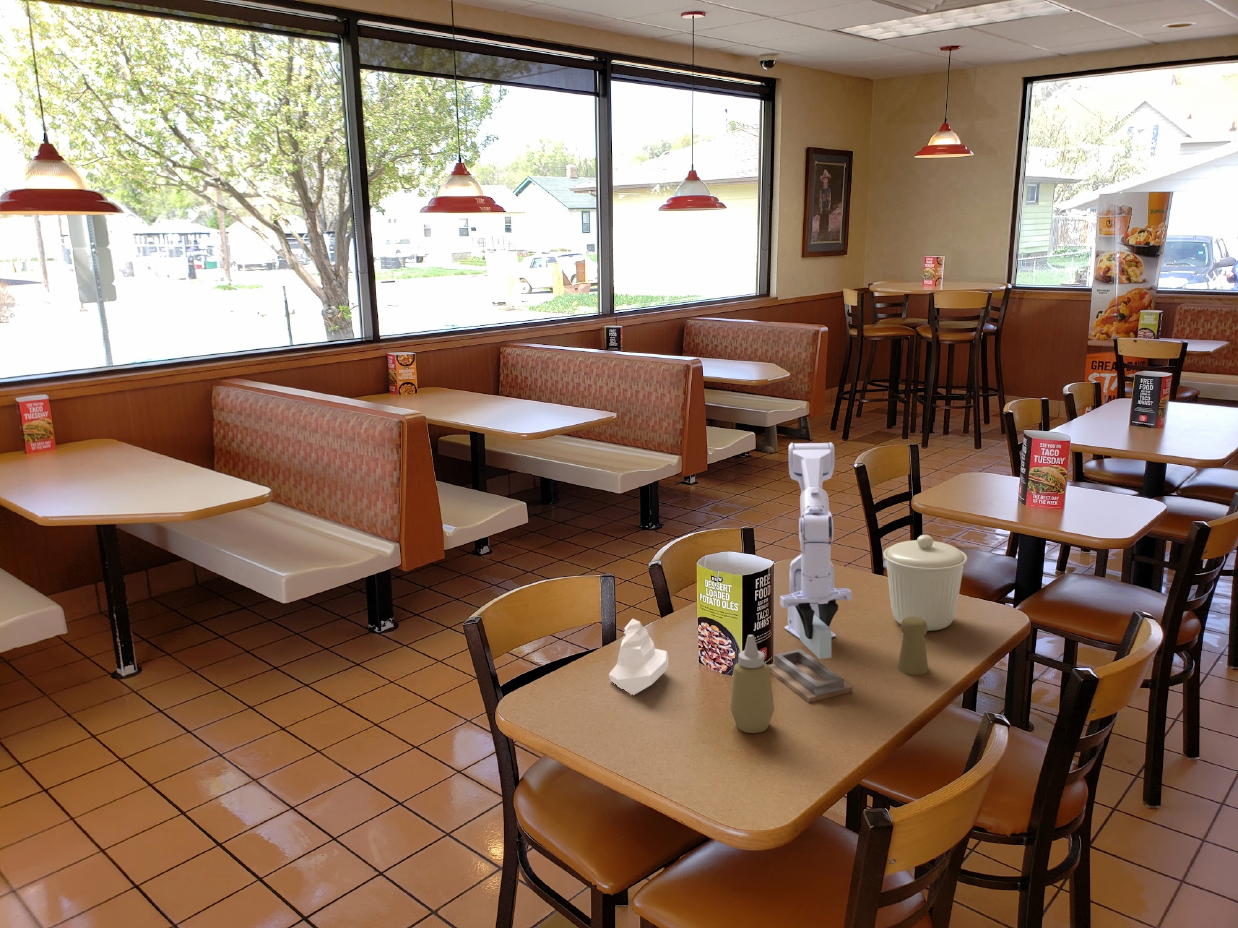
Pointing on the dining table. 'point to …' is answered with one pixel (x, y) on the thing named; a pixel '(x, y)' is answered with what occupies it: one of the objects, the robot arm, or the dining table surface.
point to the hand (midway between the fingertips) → (815, 636)
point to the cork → (913, 647)
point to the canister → (924, 580)
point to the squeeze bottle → (751, 690)
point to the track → (807, 676)
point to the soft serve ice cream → (638, 660)
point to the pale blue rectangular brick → (818, 638)
